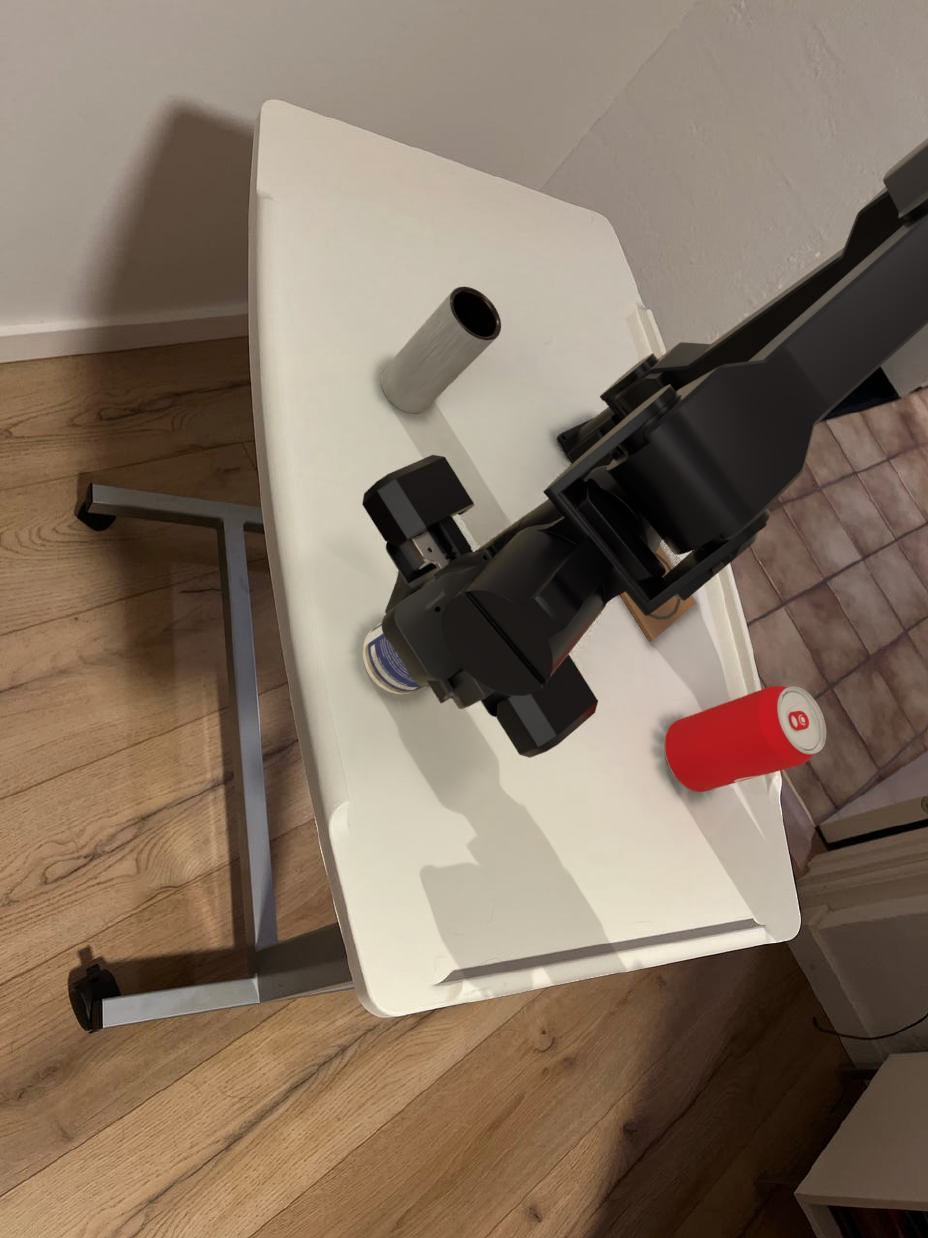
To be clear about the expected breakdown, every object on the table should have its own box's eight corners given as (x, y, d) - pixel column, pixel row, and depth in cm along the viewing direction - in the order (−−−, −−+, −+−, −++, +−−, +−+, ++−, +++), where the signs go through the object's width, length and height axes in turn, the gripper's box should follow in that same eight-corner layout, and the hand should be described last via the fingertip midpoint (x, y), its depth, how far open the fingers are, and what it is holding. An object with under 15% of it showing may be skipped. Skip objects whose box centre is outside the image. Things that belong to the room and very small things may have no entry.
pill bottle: (419, 708, 63) (501, 664, 55) (352, 678, 61) (428, 629, 53) (433, 641, 66) (513, 591, 58) (370, 610, 63) (444, 555, 56)
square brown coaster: (647, 532, 84) (651, 530, 84) (692, 605, 84) (697, 603, 84) (600, 564, 79) (604, 561, 78) (649, 641, 79) (653, 639, 78)
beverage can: (719, 788, 77) (841, 755, 68) (671, 799, 74) (793, 766, 64) (697, 717, 79) (813, 676, 70) (649, 725, 75) (765, 682, 66)
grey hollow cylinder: (371, 389, 71) (441, 309, 63) (392, 354, 73) (461, 274, 66) (417, 424, 72) (491, 351, 64) (435, 389, 75) (509, 315, 67)
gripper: (362, 453, 44) (244, 575, 56) (565, 776, 44) (404, 830, 56) (502, 397, 51) (371, 515, 63) (676, 675, 51) (513, 741, 63)
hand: (413, 647), depth 61 cm, fingers closed on pill bottle, 5 cm apart
